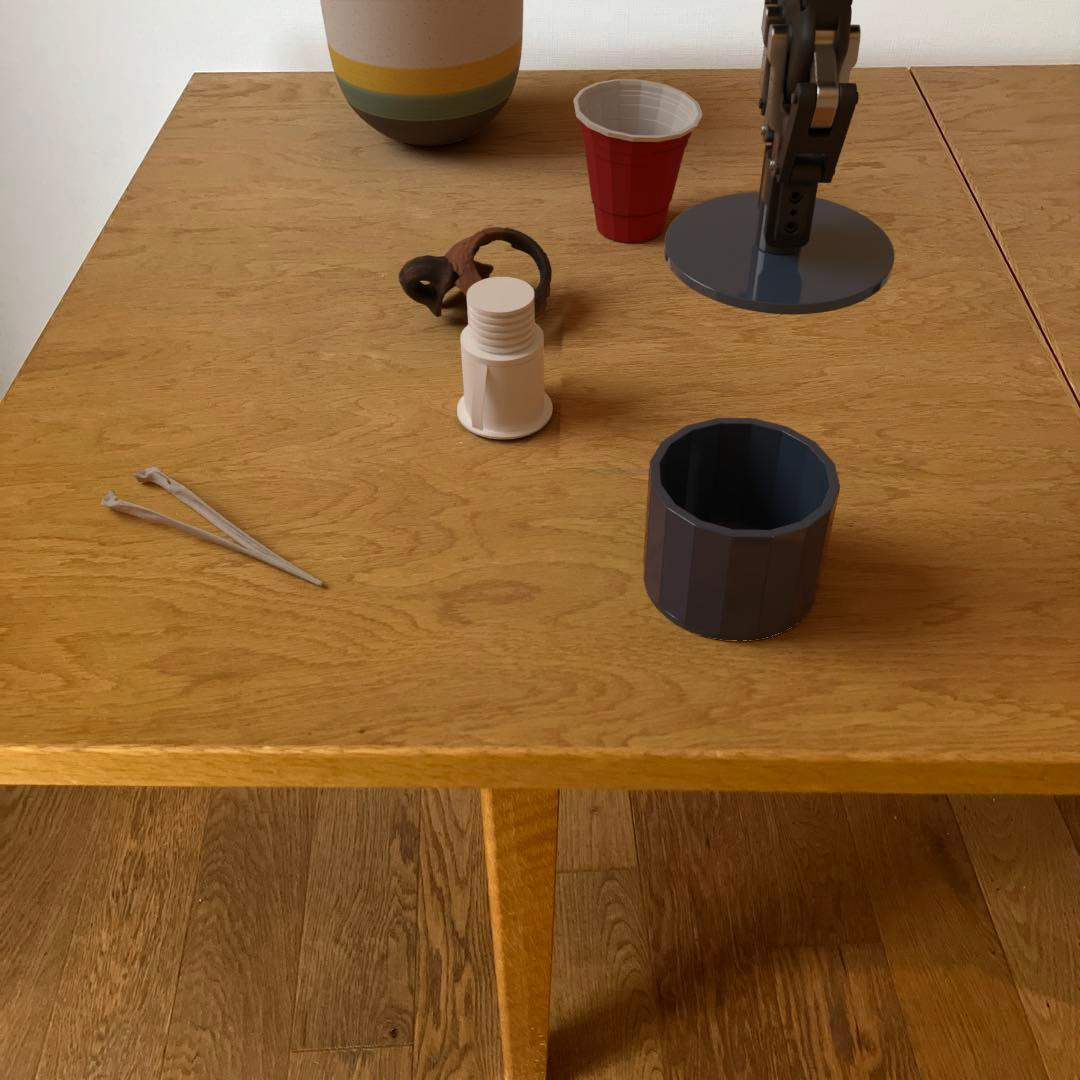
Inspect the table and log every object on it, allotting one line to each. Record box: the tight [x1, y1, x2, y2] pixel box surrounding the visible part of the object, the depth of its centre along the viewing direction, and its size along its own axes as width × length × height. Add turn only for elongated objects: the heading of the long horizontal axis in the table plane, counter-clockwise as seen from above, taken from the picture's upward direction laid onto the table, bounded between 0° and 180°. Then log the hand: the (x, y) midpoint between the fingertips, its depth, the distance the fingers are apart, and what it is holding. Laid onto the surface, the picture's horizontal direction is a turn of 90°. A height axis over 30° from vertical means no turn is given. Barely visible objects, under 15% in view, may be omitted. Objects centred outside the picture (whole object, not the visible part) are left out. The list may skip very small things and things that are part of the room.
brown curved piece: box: [398, 226, 553, 321], centre depth 95 cm, size 12×10×8 cm
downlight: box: [456, 276, 554, 440], centre depth 85 cm, size 8×7×10 cm
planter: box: [319, 0, 524, 147], centre depth 116 cm, size 20×20×21 cm
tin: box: [642, 417, 841, 642], centre depth 72 cm, size 11×11×8 cm
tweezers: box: [100, 465, 324, 588], centre depth 78 cm, size 18×5×2 cm, turn 58°
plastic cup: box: [572, 78, 704, 244], centre depth 103 cm, size 11×11×12 cm
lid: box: [663, 148, 896, 316], centre depth 61 cm, size 12×12×6 cm
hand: (782, 227), depth 61 cm, fingers closed on lid, 2 cm apart
